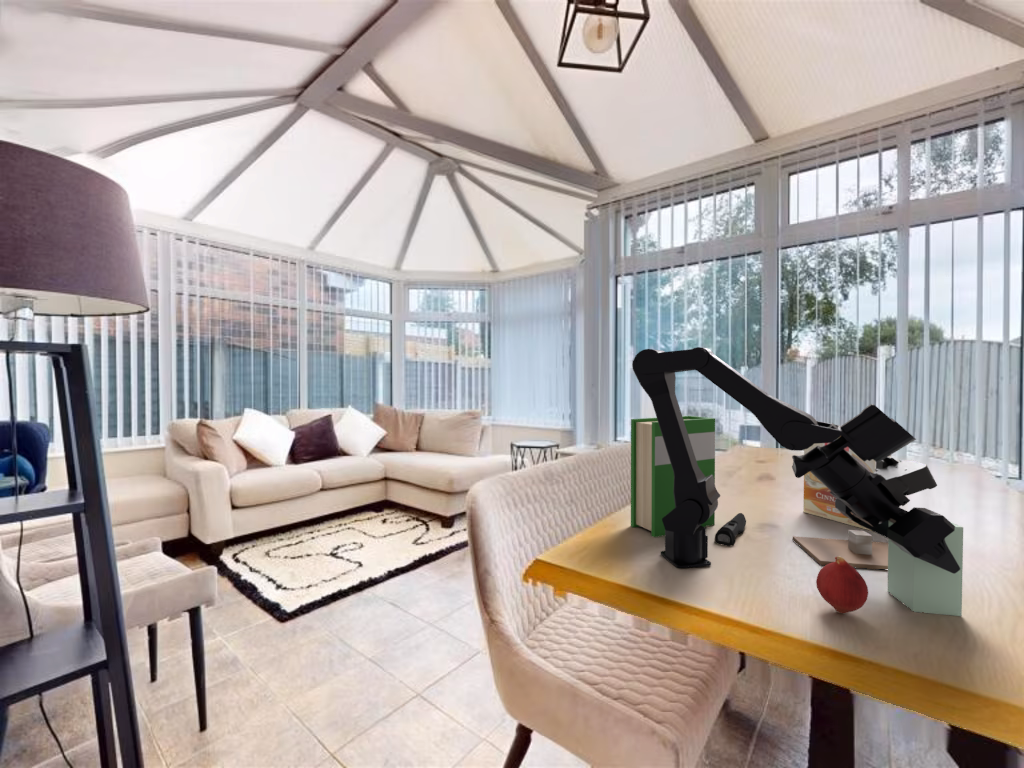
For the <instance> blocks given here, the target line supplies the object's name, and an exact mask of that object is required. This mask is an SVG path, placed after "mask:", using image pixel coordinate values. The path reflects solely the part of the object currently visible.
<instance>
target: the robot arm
mask: <svg viewBox="0 0 1024 768" xmlns="http://www.w3.org/2000/svg"><path fill="white" fill-rule="evenodd" d="M631 364H632V365H631V366H632V371H633V373H634V375H635V377H636V379H637V380H638V383H639V385H640V387H641V388H642V389H643V391H644V392H645V393H646V394H647V396H648V397H649V399H650V401H651V404H652V407H653V410H654V413H655V418H657V420H658V423H659V427H660V430H661V433H662V437H663V440H664V443H665V446H666V450H667V453H668V456H669V459H670V463H671V466H672V469H673V472H674V489H673V493H674V501H675V508H674V509H673V510H672V511H670V512H669V513H668V514H667V515H666V516H664V517H663V518H662V521H663V524H664V527H665V535H664V550H662V551H660V555H661V556H662V557H664V558H665V559H666V560H667V561H669V562H670V563H671V564H672V565H673V566H675V567H676V568H678V569H685V568H687V569H689V568H697V567H698V568H700V567H710V566H712V562H711V561H710V560H709V559H707V558H708V555H709V551H708V549H709V548H708V546H709V545H708V543H709V542H708V541H709V537H708V535H707V534H706V533H707V532H706V531H707V528H706V527H703V526H701V524H703V523H705V522H706V521H707V520H708V519H709V518H710V517H711V516H712V514H713V513H714V512H715V513H716V510H717V509H718V505H719V500H718V499H720V497H721V494H720V493H719V491H718V490H717V488H716V480H715V481H714V477H713V475H709V476H707V477H705V475H704V474H703V473H702V471H701V470H700V468H699V467H698V464H697V461H696V458H695V455H694V452H693V448H692V445H691V442H690V439H689V436H688V433H687V429H686V426H685V423H684V420H683V417H682V416H683V414H682V411H681V409H680V408H681V407H680V405H679V401H678V399H677V395H676V381H677V380H676V373H681V372H682V373H683V372H690V371H696V372H698V373H700V375H702V376H703V377H705V378H706V379H707V380H709V381H710V382H711V383H713V384H714V385H716V386H717V388H719V389H721V390H722V391H723V392H724V393H725V394H726V395H728V396H729V397H731V398H732V399H733V400H735V401H736V402H737V403H739V404H740V405H742V406H743V407H744V408H745V409H747V411H749V412H751V414H752V415H753V416H754V417H756V419H757V420H758V422H759V423H760V424H761V426H763V428H764V429H765V430H766V431H767V432H768V434H769V435H770V436H771V437H772V438H773V439H774V441H776V442H777V444H779V445H780V446H781V447H783V448H784V449H786V450H789V451H793V452H794V451H804V449H808V448H809V447H811V446H812V445H813V444H817V443H829V444H827V445H825V446H823V447H820V446H816V447H815V448H814V449H812V450H811V451H809V452H808V453H806V454H805V455H804V454H802V455H792V456H791V458H792V466H791V468H792V471H793V474H794V477H796V479H801V477H804V475H805V474H806V473H808V472H811V473H812V474H813V475H814V476H815V477H816V478H818V479H819V480H820V481H821V482H822V483H823V484H824V485H825V486H826V487H827V488H828V489H829V490H830V491H831V492H830V493H831V494H832V495H833V496H834V497H835V498H837V499H835V507H836V508H837V509H838V510H839V511H840V512H841V513H842V514H843V515H844V516H846V517H848V518H849V519H851V520H852V521H854V522H856V523H857V524H859V525H861V526H863V527H865V528H867V529H870V530H872V531H871V532H873V533H877V534H878V535H881V536H883V537H885V538H887V539H888V538H889V539H890V540H891V541H892V542H893V543H894V544H895V545H897V546H898V547H899V548H900V549H901V550H903V551H904V552H906V553H908V554H910V555H911V556H913V557H915V558H919V559H921V560H923V561H926V562H928V563H930V564H933V565H935V566H937V567H940V568H942V569H944V570H946V571H949V572H951V573H953V574H955V573H957V572H958V571H959V570H960V567H959V565H958V563H957V562H956V560H955V558H954V557H953V555H952V553H951V551H950V550H949V548H948V546H947V544H946V542H945V538H946V537H947V536H948V535H949V534H951V533H952V532H953V531H955V526H954V525H953V524H952V523H953V522H952V521H949V519H947V518H946V516H944V515H943V514H941V513H938V512H935V511H934V510H930V509H929V508H925V507H913V508H911V509H910V510H909V511H908V510H906V509H903V508H901V506H902V507H904V506H905V505H908V503H909V502H910V501H911V500H910V499H909V498H908V497H907V496H910V495H914V494H917V493H919V492H923V491H925V490H927V489H928V490H932V489H935V488H936V487H937V486H938V484H937V482H936V480H935V478H934V476H933V474H932V472H931V470H930V468H929V467H928V465H927V464H925V463H922V462H918V461H916V460H912V459H911V460H910V459H899V461H898V460H896V459H895V458H894V457H892V455H893V454H894V453H896V452H898V451H900V450H901V449H904V448H905V447H906V446H909V444H911V443H913V442H915V441H916V440H917V438H915V437H914V436H913V435H912V434H911V433H910V432H908V431H907V429H905V428H904V427H903V426H902V425H901V424H899V422H897V421H896V420H895V419H893V418H890V417H889V416H888V415H887V414H885V412H884V411H882V410H881V409H880V408H879V407H878V406H876V404H874V403H870V404H868V405H867V406H866V407H865V408H862V409H863V410H861V412H859V413H858V414H856V415H855V416H854V417H851V419H849V420H848V421H847V422H845V423H843V424H841V425H839V424H834V423H833V422H831V423H830V422H829V423H828V422H824V421H819V420H816V418H815V417H813V415H811V414H809V413H808V412H806V411H803V410H802V409H800V408H798V407H795V406H794V405H792V404H790V403H787V402H785V401H784V400H781V399H778V398H777V397H775V396H773V395H770V394H769V393H768V392H767V391H765V390H763V389H762V388H760V386H758V385H756V384H755V383H754V382H752V381H751V380H750V379H749V378H747V377H745V376H744V375H743V374H741V373H740V372H738V371H737V370H736V369H734V368H733V367H732V366H731V365H729V364H728V363H726V362H725V361H724V360H722V359H721V358H719V357H718V356H717V355H716V354H715V353H714V352H713V351H712V350H711V349H709V348H706V347H701V346H699V347H698V346H696V347H693V348H689V349H681V350H669V351H664V350H658V349H651V348H645V349H642V350H639V352H637V354H636V355H635V357H634V358H633V360H632V363H631ZM840 436H841V437H840ZM837 438H838V439H837ZM834 440H835V441H834ZM846 447H849V448H850V449H851V450H852V451H853V452H854V453H855V454H856V455H857V456H858V457H859V458H860V459H862V460H863V461H866V460H869V461H871V460H872V459H873V460H875V461H876V469H875V471H876V472H874V473H871V472H869V471H868V470H867V469H866V468H865V467H863V466H862V465H861V464H860V463H859V462H858V461H857V460H856V459H855V458H853V457H852V456H851V455H850V454H849V453H848V452H847V451H846V450H845V448H846ZM890 455H891V457H888V456H890ZM851 513H852V514H853V515H852V514H851ZM889 521H890V522H892V523H894V524H892V525H891V526H890V527H889ZM951 522H952V523H951ZM870 530H869V531H870Z"/></svg>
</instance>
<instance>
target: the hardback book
mask: <svg viewBox="0 0 1024 768" xmlns="http://www.w3.org/2000/svg"><path fill="white" fill-rule="evenodd" d="M682 417H683V420H684V423H685V426H686V429H687V433H688V436H689V439H690V442H691V445H692V448H693V452H694V455H695V458H696V461H697V464H698V467H699V468H700V470H701V471H702V473H703V474H704V475H705V477H707V476H709V475H713V477H714V481H715V482H716V418H715V417H704V416H696V415H682ZM673 489H674V472H673V469H672V466H671V463H670V459H669V456H668V453H667V450H666V446H665V443H664V440H663V437H662V433H661V430H660V427H659V423H658V420H657V417H646V418H645V417H644V418H631V419H630V527H631V528H639V527H641V528H643V529H646V530H648V531H650V532H651V535H650V536H651V537H653V538H659V537H662V535H663V536H665V527H664V524H663V521H662V518H663V517H664V516H666V515H667V514H668V513H669V512H670V511H672V510H673V509H674V508H675V501H674V493H673ZM715 513H716V511H715V512H714V513H713V514H712V516H711V517H710V518H709V519H708V520H707V521H706V522H705V523H703V524H701V526H703V527H705V528H706V527H711V526H715V523H716V522H715V521H716V520H715V519H716V517H715V515H716V514H715ZM658 536H659V537H658Z"/></svg>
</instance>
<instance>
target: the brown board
mask: <svg viewBox="0 0 1024 768" xmlns="http://www.w3.org/2000/svg"><path fill="white" fill-rule="evenodd" d="M847 532H848V533H847V536H848V537H847V539H841V538H840V539H839V538H837V539H836V538H822V537H809V536H808V537H807V536H794V535H793V536H792V541H793V540H794V541H795V542H796V543H797V544H798V546H799V545H800V546H801V547H802V548H803V549H804V550H805V551H806V552H807V553H806V552H805V551H804V550H803V549H802V548H801V547H800V546H799V547H800V548H801V549H802V550H803V551H804V552H805V553H806V554H808V555H809V556H810V557H811V558H812V557H813V558H814V559H815V560H816V561H815V560H814V559H813V558H812V559H813V560H814V561H815V562H817V564H819V565H820V566H824V565H827V564H829V563H832V562H835V561H836V559H835V557H839V556H840V557H843V558H844V559H845V560H846V562H847V563H848V564H850V565H851V566H852V567H856V568H855V569H862V568H867V569H866V570H875V569H888V542H886V541H885V542H883V541H873V535H872V534H870V533H869V532H867V531H866V530H856V529H855V530H854V529H848V531H847ZM794 541H793V542H794ZM795 542H794V543H795ZM796 543H795V544H796Z"/></svg>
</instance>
